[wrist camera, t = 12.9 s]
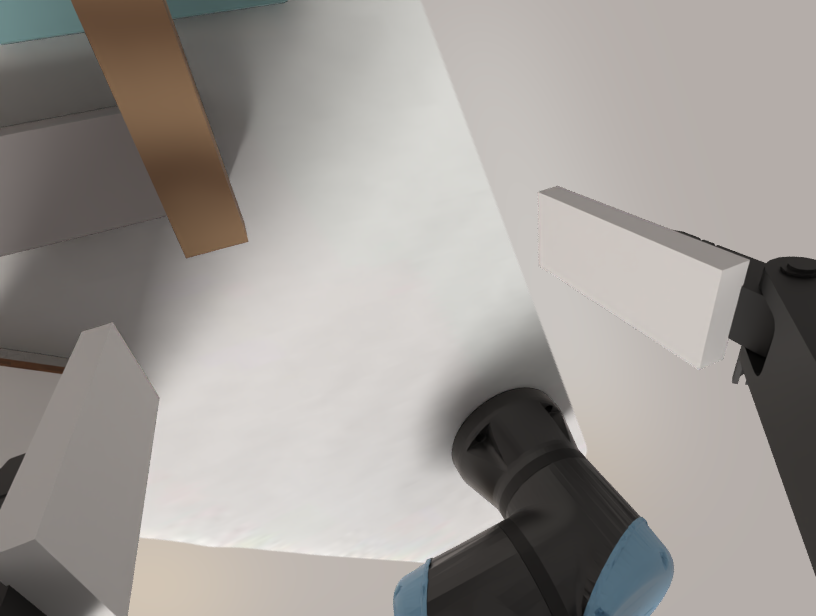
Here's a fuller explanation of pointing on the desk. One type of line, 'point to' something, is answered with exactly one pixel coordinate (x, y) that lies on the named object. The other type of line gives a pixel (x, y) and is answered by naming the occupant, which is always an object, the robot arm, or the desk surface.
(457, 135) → the desk surface
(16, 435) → the tall open-top box
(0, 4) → the stand
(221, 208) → the walnut rod
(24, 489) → the robot arm
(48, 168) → the riser block
